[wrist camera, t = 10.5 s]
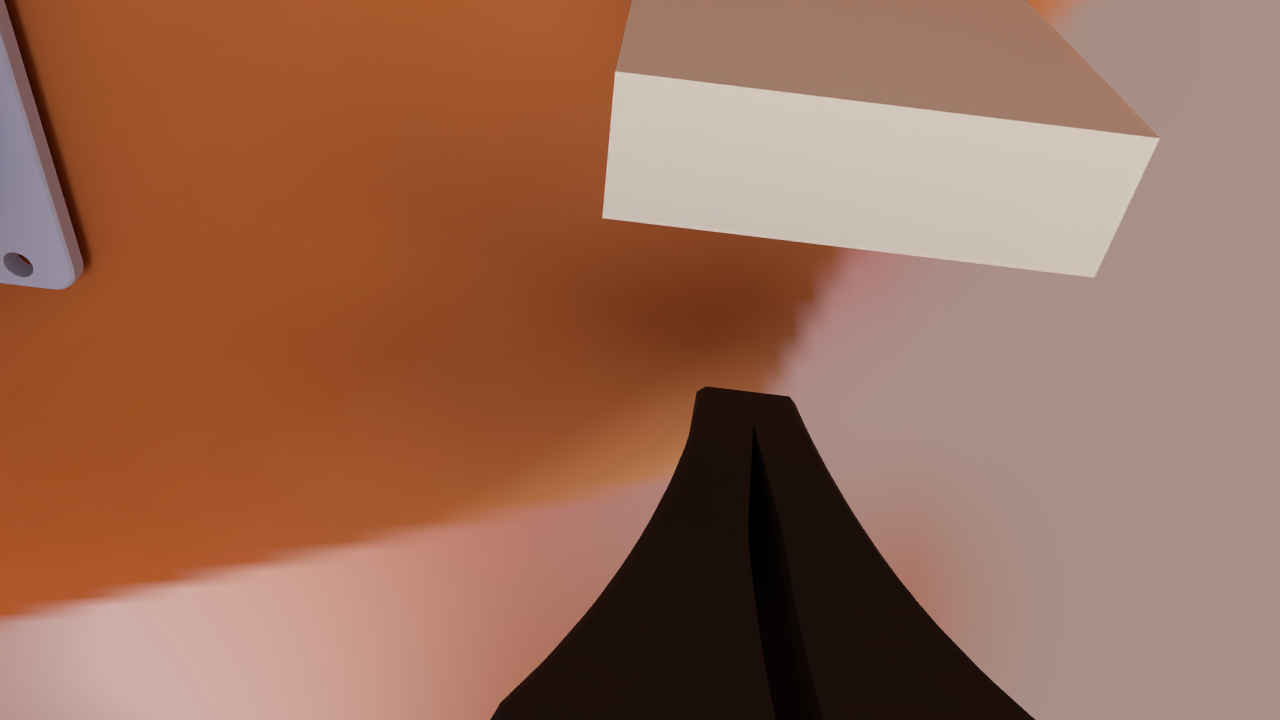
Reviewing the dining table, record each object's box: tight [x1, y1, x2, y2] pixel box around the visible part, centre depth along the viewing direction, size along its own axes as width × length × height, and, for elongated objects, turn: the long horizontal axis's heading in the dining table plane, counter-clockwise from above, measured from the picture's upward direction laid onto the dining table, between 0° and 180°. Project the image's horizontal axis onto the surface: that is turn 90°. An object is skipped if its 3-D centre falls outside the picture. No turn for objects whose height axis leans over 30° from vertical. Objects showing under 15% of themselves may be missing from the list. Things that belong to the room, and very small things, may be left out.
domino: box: [602, 0, 1160, 278], centre depth 10 cm, size 4×1×8 cm, turn 84°
